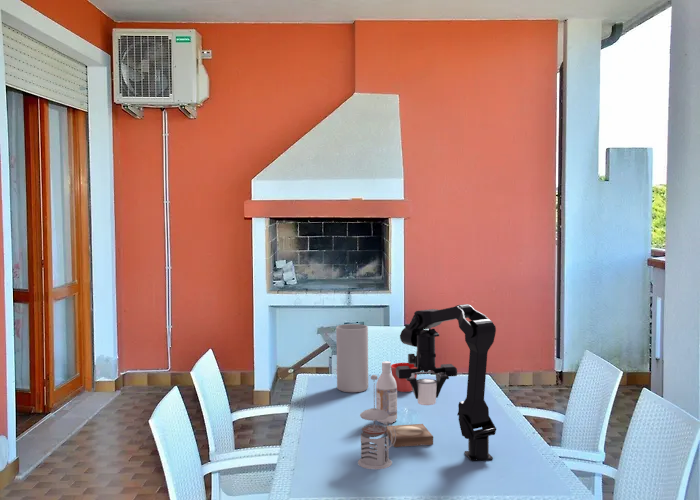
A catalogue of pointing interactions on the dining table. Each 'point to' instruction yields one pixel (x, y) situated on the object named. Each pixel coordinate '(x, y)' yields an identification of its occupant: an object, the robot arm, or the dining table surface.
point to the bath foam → (387, 393)
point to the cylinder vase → (352, 357)
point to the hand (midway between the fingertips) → (426, 398)
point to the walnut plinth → (410, 435)
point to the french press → (381, 455)
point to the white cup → (426, 391)
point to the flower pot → (402, 383)
